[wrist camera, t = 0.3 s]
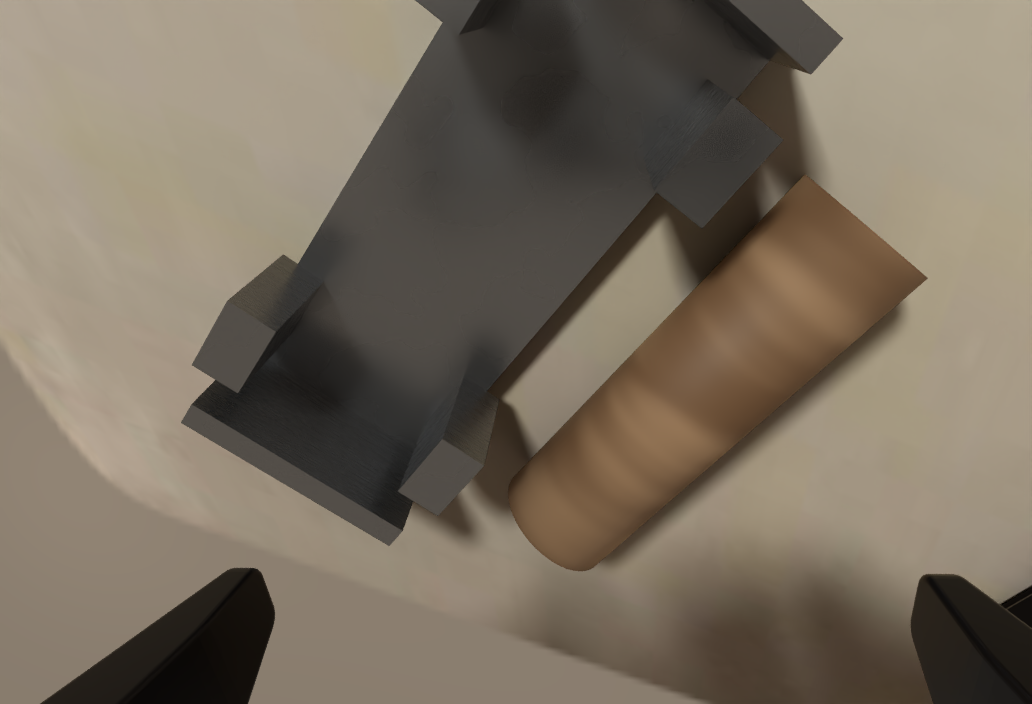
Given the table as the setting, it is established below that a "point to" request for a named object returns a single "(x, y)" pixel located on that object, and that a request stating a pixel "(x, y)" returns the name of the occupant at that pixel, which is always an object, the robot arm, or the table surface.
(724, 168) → the cradle
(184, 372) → the table surface
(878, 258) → the cylinder
